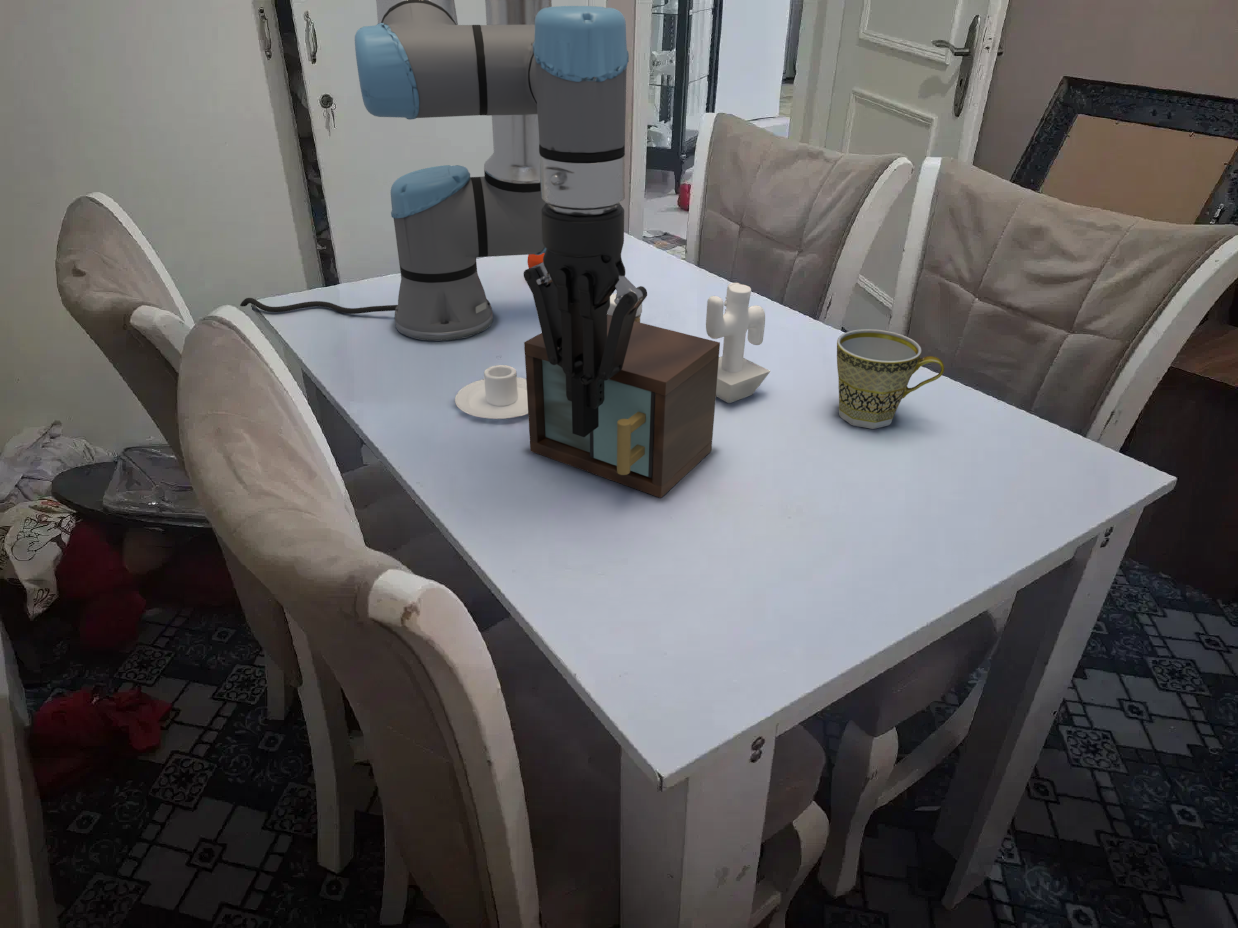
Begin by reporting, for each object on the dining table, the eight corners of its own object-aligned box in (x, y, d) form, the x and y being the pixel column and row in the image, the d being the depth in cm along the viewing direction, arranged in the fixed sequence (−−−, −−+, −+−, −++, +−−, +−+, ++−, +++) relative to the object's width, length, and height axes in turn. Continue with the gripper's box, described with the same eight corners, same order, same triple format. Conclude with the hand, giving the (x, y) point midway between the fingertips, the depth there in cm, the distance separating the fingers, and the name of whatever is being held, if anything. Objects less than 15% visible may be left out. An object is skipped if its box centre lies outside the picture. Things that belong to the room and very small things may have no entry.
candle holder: (526, 429, 101) (524, 398, 99) (439, 415, 104) (435, 385, 102) (560, 388, 111) (559, 359, 109) (479, 376, 114) (477, 348, 112)
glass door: (568, 473, 90) (565, 388, 84) (593, 454, 93) (592, 371, 88) (631, 496, 86) (633, 409, 80) (655, 475, 89) (658, 390, 84)
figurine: (773, 393, 110) (786, 286, 102) (722, 413, 106) (731, 302, 98) (736, 374, 115) (745, 271, 107) (685, 392, 110) (691, 285, 103)
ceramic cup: (820, 427, 102) (832, 354, 97) (831, 393, 110) (842, 324, 105) (928, 446, 99) (947, 371, 93) (931, 410, 107) (948, 338, 101)
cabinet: (530, 451, 97) (523, 342, 90) (587, 411, 106) (586, 308, 98) (660, 498, 89) (665, 382, 81) (711, 451, 97) (720, 342, 90)
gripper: (499, 201, 74) (514, 427, 86) (621, 226, 68) (618, 464, 81) (549, 184, 79) (556, 399, 92) (666, 205, 73) (656, 432, 86)
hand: (585, 429), depth 86 cm, fingers closed
